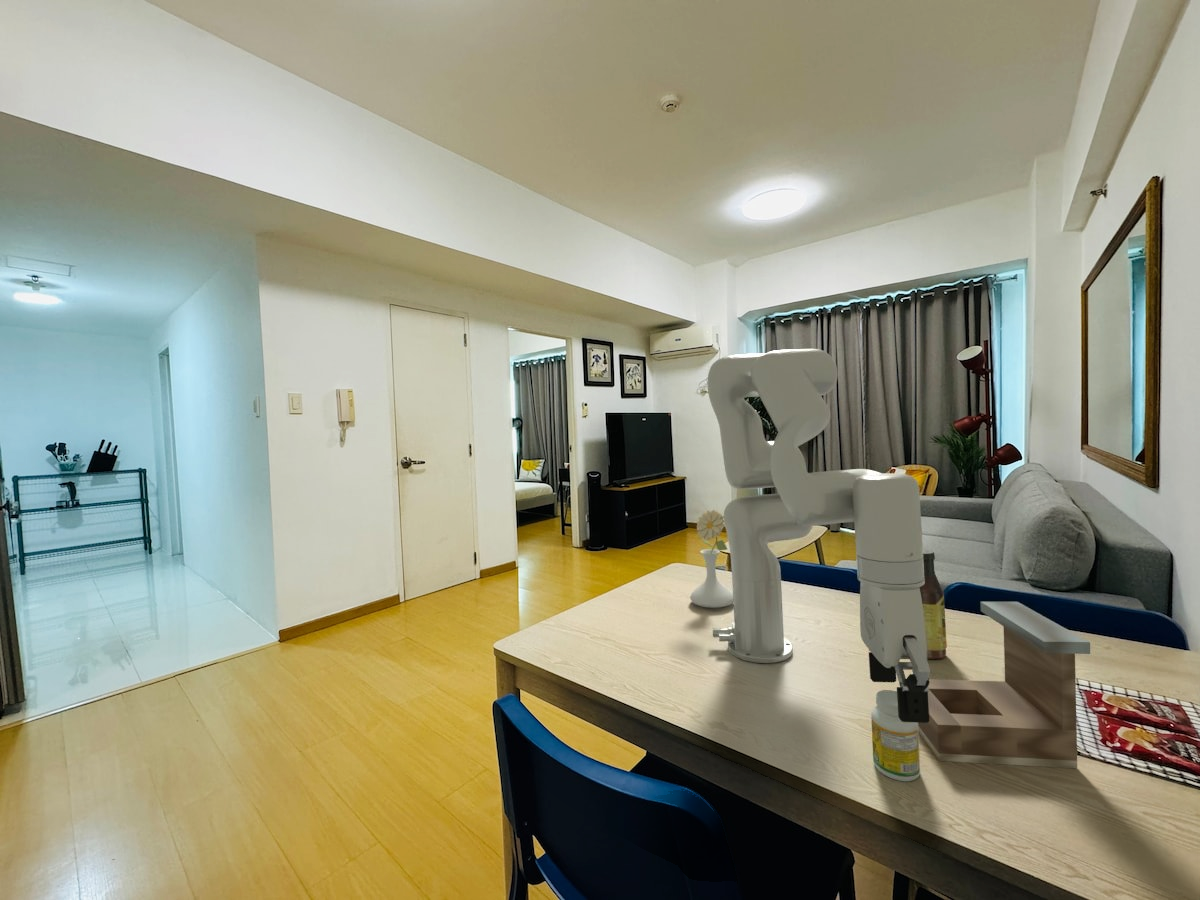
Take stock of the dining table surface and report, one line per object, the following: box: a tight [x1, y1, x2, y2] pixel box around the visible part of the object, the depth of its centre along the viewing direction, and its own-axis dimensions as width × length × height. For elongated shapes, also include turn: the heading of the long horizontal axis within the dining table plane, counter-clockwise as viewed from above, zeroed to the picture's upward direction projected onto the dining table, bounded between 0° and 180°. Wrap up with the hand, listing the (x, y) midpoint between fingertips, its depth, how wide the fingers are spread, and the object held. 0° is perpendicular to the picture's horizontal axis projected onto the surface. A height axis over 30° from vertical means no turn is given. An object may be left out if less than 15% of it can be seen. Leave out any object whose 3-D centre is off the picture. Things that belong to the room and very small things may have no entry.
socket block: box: [918, 601, 1091, 769], centre depth 70 cm, size 17×14×17 cm
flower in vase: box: [689, 509, 734, 609], centre depth 127 cm, size 13×11×25 cm
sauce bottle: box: [919, 548, 948, 660], centre depth 95 cm, size 7×6×20 cm
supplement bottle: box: [870, 689, 921, 782], centre depth 65 cm, size 5×5×10 cm
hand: (897, 699), depth 64 cm, fingers open, 9 cm apart
